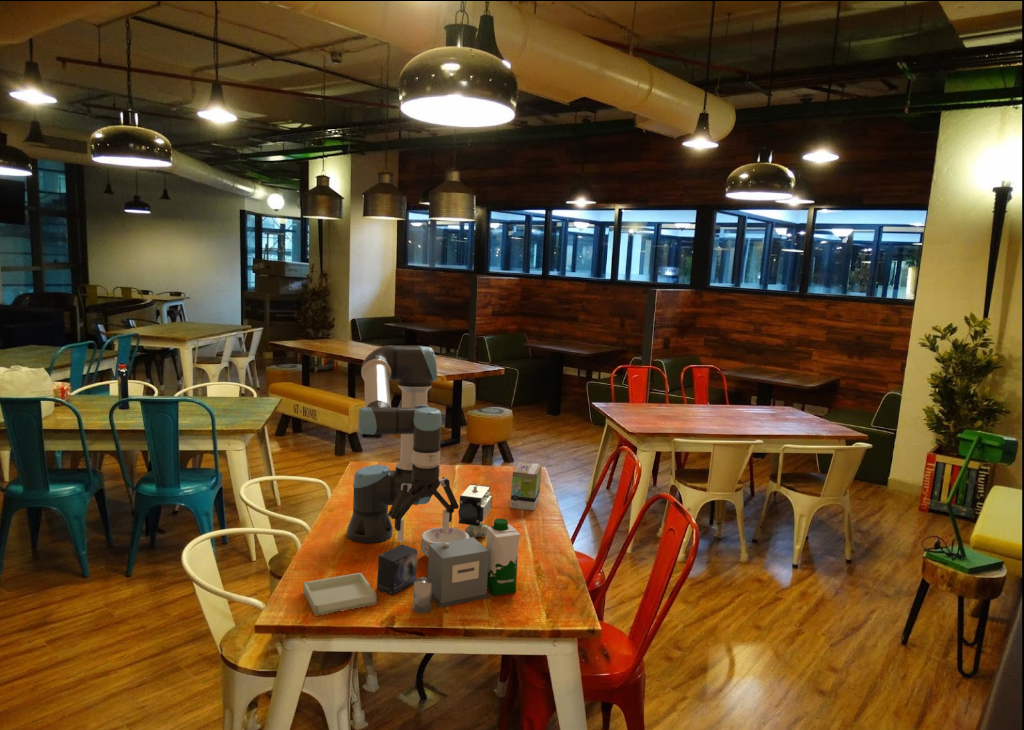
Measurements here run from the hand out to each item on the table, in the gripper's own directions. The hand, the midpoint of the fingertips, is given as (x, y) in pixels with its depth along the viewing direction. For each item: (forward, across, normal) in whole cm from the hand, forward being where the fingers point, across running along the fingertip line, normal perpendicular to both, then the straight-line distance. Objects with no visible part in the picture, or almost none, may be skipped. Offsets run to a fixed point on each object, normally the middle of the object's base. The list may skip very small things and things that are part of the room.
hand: (423, 536), depth 196 cm
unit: (+17, +9, -5) cm, 20 cm away
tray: (+17, -22, +6) cm, 28 cm away
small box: (+17, -5, +7) cm, 19 cm away
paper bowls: (+18, +16, +18) cm, 30 cm away
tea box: (+19, +66, +52) cm, 86 cm away
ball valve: (+18, +33, +30) cm, 48 cm away
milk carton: (+17, +22, -7) cm, 29 cm away
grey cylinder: (+17, -3, -8) cm, 19 cm away
